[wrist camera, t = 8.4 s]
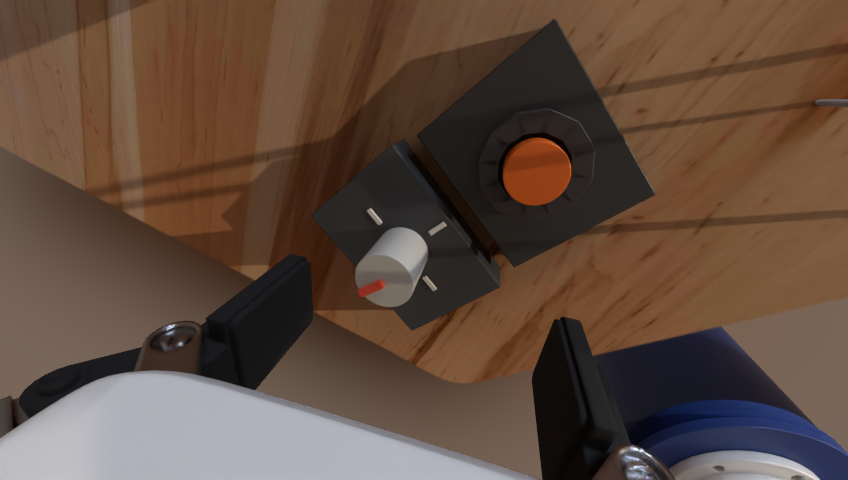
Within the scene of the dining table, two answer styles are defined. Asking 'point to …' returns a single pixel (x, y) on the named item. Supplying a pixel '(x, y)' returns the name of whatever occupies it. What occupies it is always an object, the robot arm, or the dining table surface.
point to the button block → (530, 118)
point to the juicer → (833, 103)
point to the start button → (536, 171)
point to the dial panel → (421, 212)
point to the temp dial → (392, 267)
